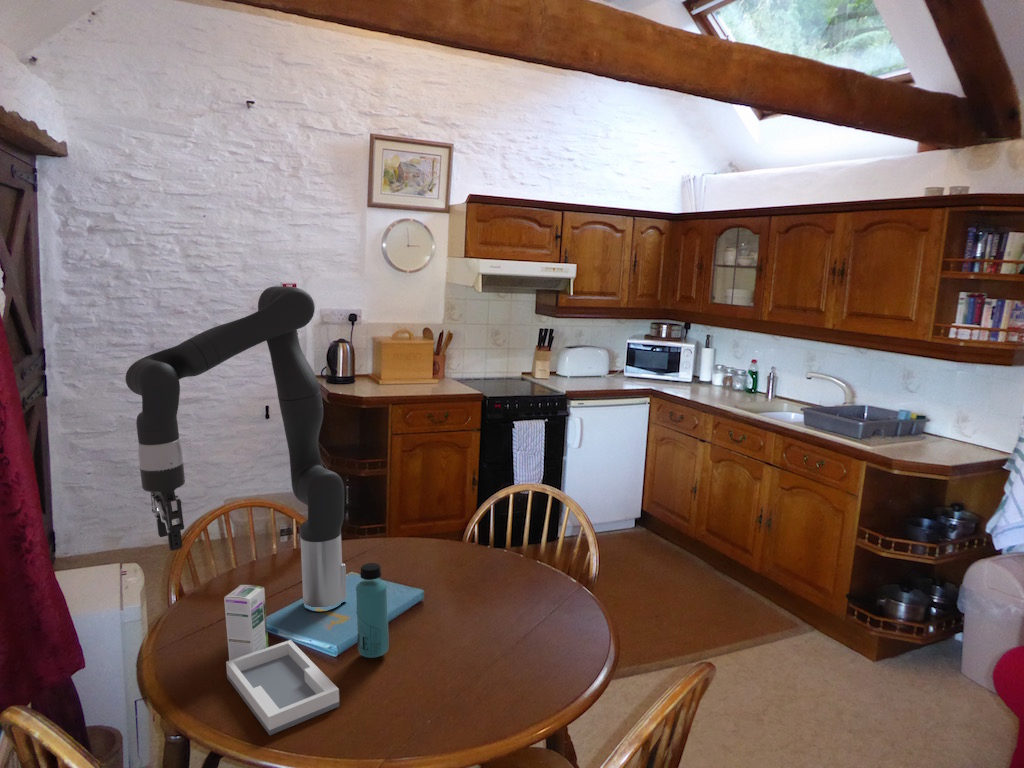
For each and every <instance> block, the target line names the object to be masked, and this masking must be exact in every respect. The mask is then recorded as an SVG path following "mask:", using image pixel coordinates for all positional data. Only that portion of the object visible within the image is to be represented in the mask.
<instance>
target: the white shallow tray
mask: <svg viewBox="0 0 1024 768" xmlns="http://www.w3.org/2000/svg"><path fill="white" fill-rule="evenodd" d="M225 665H226V679H227V680H228V682H229V683H230V684H231V685H232V687H233V689H234V690H235V691H236V692H237V693H238V695H239V696H240V697H241V699H242V701H243V702H244V703H245V704H246V706H247V707H248V708H249V709H250V711H251V712H252V714H253V715H254V717H256V719H257V720H258V722H259V723H260V724H261V726H262V727H263V729H264V730H265V731H266V732H267V734H268V735H269V736H272V735H275V734H277V733H279V732H282V731H284V730H287V729H289V728H291V727H294V726H296V725H299V724H301V723H303V722H305V721H309V720H310V719H313V718H315V717H318V716H319V715H322V714H325V713H327V712H329V711H331V710H334V709H336V708H340V689H339V688H338V687H337V686H336V684H334V682H332V681H331V680H330V678H329V677H328V676H327V675H326V674H325V673H324V672H323V671H322V670H321V669H320V668H319V667H318V666H317V665H316V664H315V663H314V662H313V661H312V660H311V659H310V658H309V657H308V656H307V654H305V653H304V652H303V650H301V648H299V647H298V646H297V644H296V643H294V642H293V640H292V639H289V640H285V641H282V642H279V643H277V644H274V645H271V646H269V647H268V648H265V649H262V650H259V651H256V652H253V653H250V654H247V655H244V656H241V657H238V658H235V659H232V660H229V659H228V660H227V661H226V662H225Z"/></svg>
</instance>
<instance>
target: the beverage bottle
mask: <svg viewBox="0 0 1024 768" xmlns="http://www.w3.org/2000/svg"><path fill="white" fill-rule="evenodd" d="M380 577H382V571H381V565H380V564H379V563H377V562H369V563H364V564H363V565H361V567H360V578H361V579H362V580H361V581H360V582H359V583H358V584H356V587H355V592H356V593H355V594H356V595H355V596H356V621H357V623H356V625H357V629H356V630H357V639H356V641H357V642H356V643H357V651H358V652H359V655H361V656H362V657H363V658H364V657H365V658H370V659H372V658H373V659H374V658H378V657H381V656H384V655H385V654H386V653H388V651H389V647H390V645H389V644H390V633H389V631H390V630H389V613H388V590H387V589H388V584H387V583H386V581H384V580H382V578H380Z"/></svg>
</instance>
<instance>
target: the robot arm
mask: <svg viewBox="0 0 1024 768" xmlns="http://www.w3.org/2000/svg"><path fill="white" fill-rule="evenodd" d="M257 302H258V303H257V311H255V312H254V313H251V314H249V315H246V316H243V317H241V318H239V319H236V320H233V321H229V322H226V323H223V324H220V325H217V326H214V327H212V328H209V329H207V330H204V331H202V332H200V333H198V334H197V335H195V336H192V337H190V338H188V339H186V340H184V341H182V342H180V343H179V344H178V345H175V346H172V347H168V348H165V349H163V350H160V351H157V352H154V353H152V354H148V355H146V356H144V357H142V358H140V359H138V360H136V361H135V362H133V363H132V364H131V365H130V366H129V367H128V369H127V371H126V374H125V383H126V386H127V388H128V389H129V390H130V391H131V392H133V393H134V394H136V395H138V396H141V398H142V399H141V400H142V401H141V405H142V407H141V408H142V409H141V412H140V413H139V414H137V417H136V432H137V440H138V441H137V442H138V450H137V451H138V452H137V453H138V463H139V471H140V472H139V473H140V481H141V488H142V490H144V491H145V492H148V493H150V501H151V512H152V513H153V514H154V518H155V519H156V526H157V534H158V536H159V537H160V538H165V537H167V540H168V541H167V543H168V548H169V550H170V551H178V550H180V549H182V548H183V541H182V532H181V531H182V530H185V524H184V517H183V516H184V515H183V509H182V507H183V506H182V500H181V498H179V495H176V492H175V491H176V490H177V489H178V488H179V489H180V488H182V486H183V485H184V484H185V482H186V479H185V478H186V477H185V468H184V467H185V466H184V458H183V450H182V446H181V445H182V444H181V440H180V435H179V434H180V433H179V424H178V417H177V415H178V411H179V402H180V397H181V396H180V394H181V389H180V388H181V385H180V384H181V383H180V380H181V379H183V378H189V377H191V378H193V377H197V376H200V375H202V374H203V373H206V372H208V371H209V370H211V369H213V368H215V367H217V366H219V365H220V364H222V363H224V362H225V361H227V360H229V359H231V358H233V357H235V356H237V355H239V354H241V353H243V352H244V351H246V350H248V349H250V348H253V347H256V346H257V345H259V344H262V343H265V342H266V344H267V347H268V350H269V355H270V361H271V366H272V371H273V375H274V380H275V386H276V392H277V399H278V404H279V409H280V413H281V418H282V422H283V428H284V433H285V438H286V443H287V448H288V449H287V450H288V455H289V466H290V479H291V480H290V481H291V489H292V492H293V494H294V496H295V498H296V499H297V500H298V501H299V502H301V503H302V504H304V505H307V519H306V520H305V521H303V522H302V523H301V524H300V528H299V533H300V534H299V535H300V536H299V538H300V556H301V558H300V561H301V576H302V577H301V580H302V581H301V582H302V600H303V601H302V602H304V604H306V605H308V606H311V607H328V606H333V605H336V604H337V603H339V602H341V601H342V600H343V599H346V598H348V597H347V594H348V593H347V569H346V568H347V567H346V564H345V563H344V562H343V555H342V553H343V551H342V550H343V549H342V526H343V523H344V519H345V485H344V482H343V479H342V477H341V476H340V475H339V474H338V473H337V472H334V471H332V470H330V469H327V468H325V467H324V465H323V462H322V457H321V451H320V446H319V438H320V432H321V427H322V424H323V420H324V404H323V397H322V392H321V386H320V384H319V380H318V378H317V376H316V374H315V372H314V370H313V368H312V367H311V365H310V363H309V361H308V359H307V358H306V356H305V355H304V351H303V350H302V348H301V344H300V341H299V336H298V330H299V329H302V328H304V327H306V326H307V325H309V323H310V322H311V321H312V319H313V317H314V314H315V311H316V310H315V307H316V306H315V301H314V299H313V297H312V296H311V294H310V293H308V292H307V291H306V290H304V289H302V288H298V287H293V286H277V285H276V286H270V287H268V288H266V289H264V290H263V291H262V292H261V294H260V295H259V298H258V301H257ZM173 521H175V522H176V524H173Z"/></svg>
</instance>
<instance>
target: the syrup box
mask: <svg viewBox="0 0 1024 768" xmlns="http://www.w3.org/2000/svg"><path fill="white" fill-rule="evenodd" d="M223 600H224V602H223V603H224V613H225V625H226V637H227V638H226V639H227V648H228V649H227V650H228V661H229V660H232V659H235V658H238V657H241V656H244V655H247V654H250V653H253V652H256V651H259V650H262V649H265V648H268V647H270V646H269V635H268V622H267V620H268V619H267V609H266V594H265V587H264V586H260V585H255V584H239V585H238V587H236V588H235V589H233V590H232V591H231V592H230V593H228V594H227V595H225V596H224V598H223Z"/></svg>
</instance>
